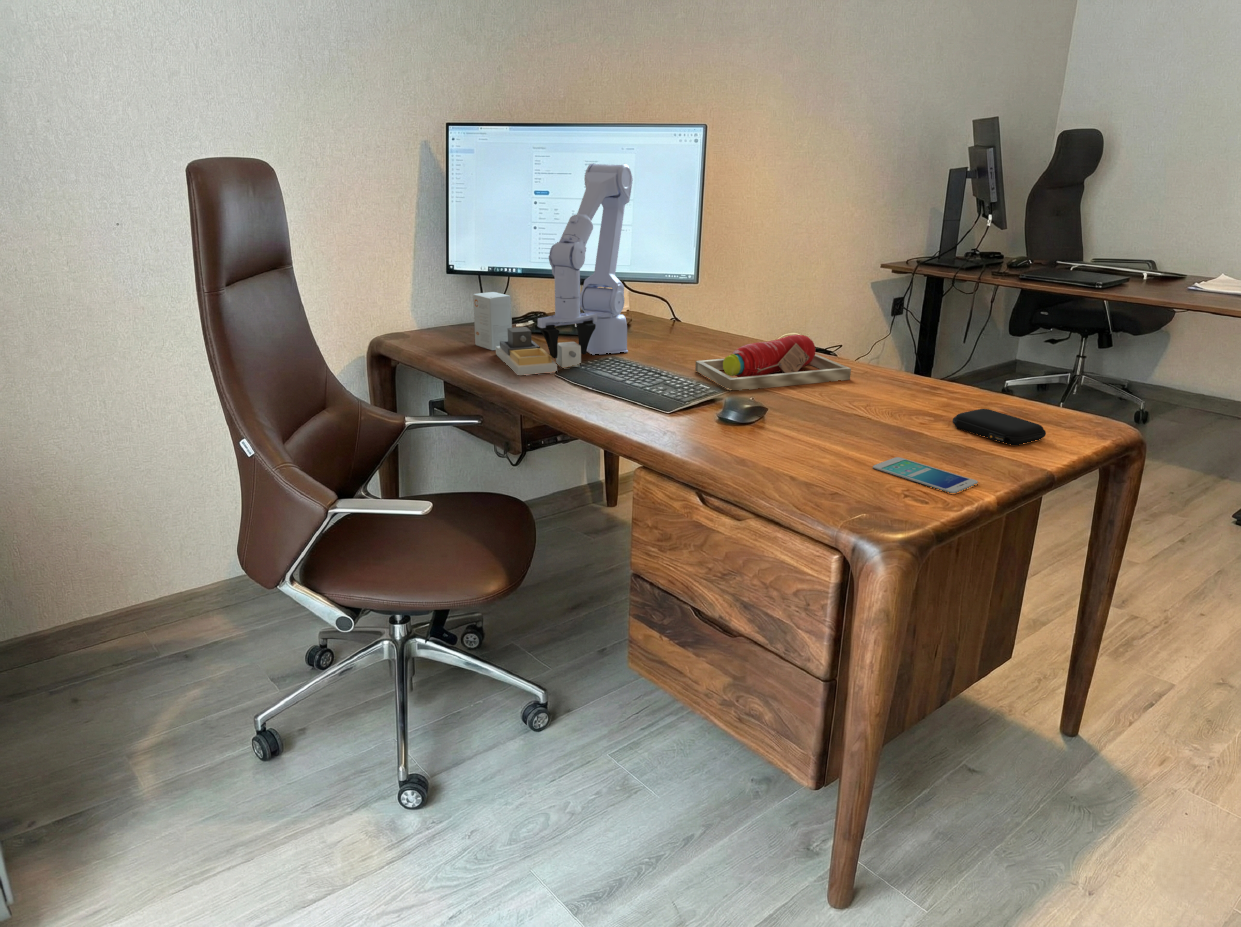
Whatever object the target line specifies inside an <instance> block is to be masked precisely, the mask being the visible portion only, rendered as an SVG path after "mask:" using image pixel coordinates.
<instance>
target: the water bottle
mask: <svg viewBox="0 0 1241 927" xmlns="http://www.w3.org/2000/svg"><path fill="white" fill-rule="evenodd" d="M815 354H816V345H815V343H814V341H813V340H812V339H811V338H809V337H808V336H807V335H804V334H803V335H802V334H792V335H791V334H790V335H788V336H784V337H780V338H777V339H774V340H769V341H768V340H767V341H760V342H753V343H752V342H751V343H748V344H743V345H742V346H740V347H738V348H737V349H735V350H734V351H733V352H732V353H731V354H730V355H727V356H726V357H725V358H723V359H724V361H723V369H724V371H723V372H724V374H726V375H728V376H730V377H734V376H735V377H736V378H738V377H749V376H760V375H770V374H776V373H777V372H778V373H779V372H782V373H792V372H799V370H800V369H801V368H803V367H806V366H808V365H810V364H809V363H810V362H811V361H812V360H813V358H814V356H815Z"/></svg>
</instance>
